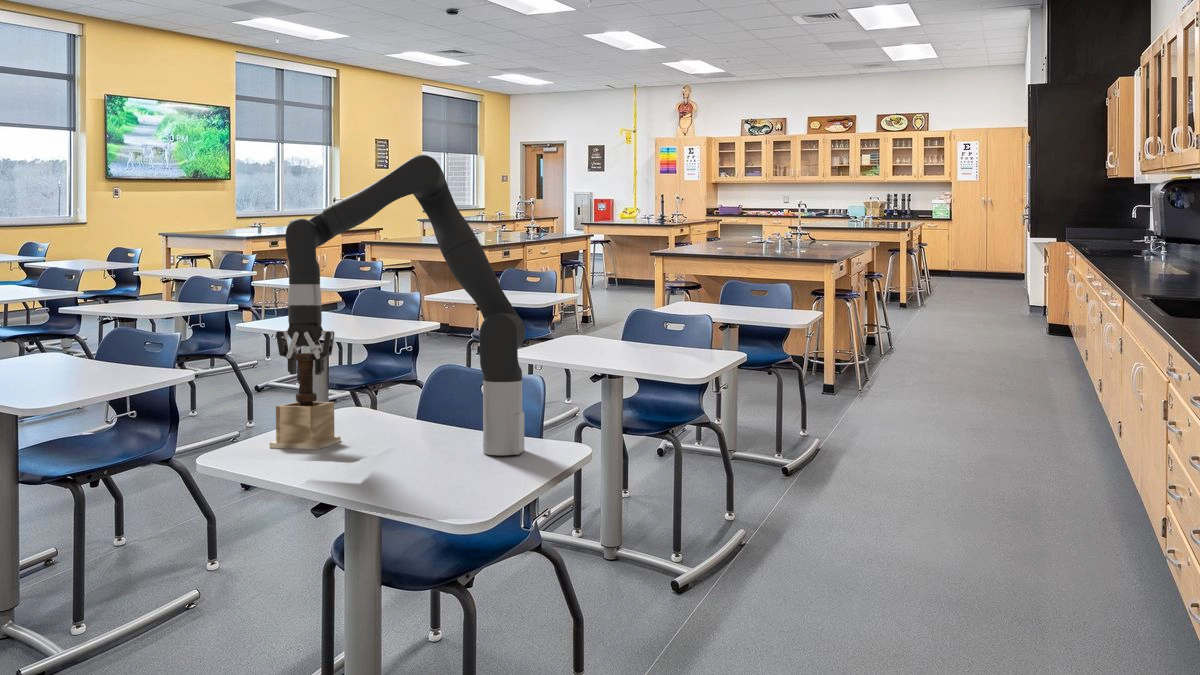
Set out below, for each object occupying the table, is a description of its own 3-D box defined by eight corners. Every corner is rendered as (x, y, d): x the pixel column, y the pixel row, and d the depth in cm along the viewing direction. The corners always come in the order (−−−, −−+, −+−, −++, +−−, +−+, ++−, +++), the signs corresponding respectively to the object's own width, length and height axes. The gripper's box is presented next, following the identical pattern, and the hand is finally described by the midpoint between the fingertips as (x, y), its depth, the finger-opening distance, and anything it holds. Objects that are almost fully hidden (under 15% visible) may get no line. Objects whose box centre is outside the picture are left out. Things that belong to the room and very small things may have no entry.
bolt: (304, 418, 203) (303, 354, 203) (289, 416, 206) (288, 353, 205) (323, 415, 208) (322, 353, 208) (308, 414, 211) (308, 352, 210)
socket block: (340, 441, 212) (340, 401, 212) (318, 449, 201) (317, 407, 200) (294, 440, 214) (294, 401, 214) (269, 448, 202) (269, 406, 202)
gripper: (340, 303, 209) (341, 373, 210) (284, 304, 211) (285, 373, 212) (326, 303, 202) (327, 375, 202) (268, 303, 204) (269, 375, 204)
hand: (305, 374), depth 207 cm, fingers closed on bolt, 5 cm apart
